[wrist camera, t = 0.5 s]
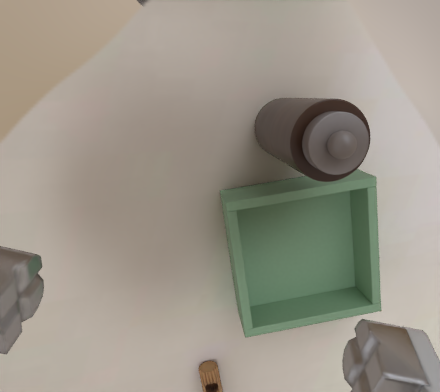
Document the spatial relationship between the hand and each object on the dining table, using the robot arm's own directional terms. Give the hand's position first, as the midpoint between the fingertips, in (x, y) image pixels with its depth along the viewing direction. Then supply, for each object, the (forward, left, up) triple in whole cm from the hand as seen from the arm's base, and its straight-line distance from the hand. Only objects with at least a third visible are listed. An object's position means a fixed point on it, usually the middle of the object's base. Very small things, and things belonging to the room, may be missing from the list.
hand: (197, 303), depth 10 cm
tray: (+10, +9, -24) cm, 28 cm away
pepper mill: (-1, +9, -24) cm, 26 cm away
